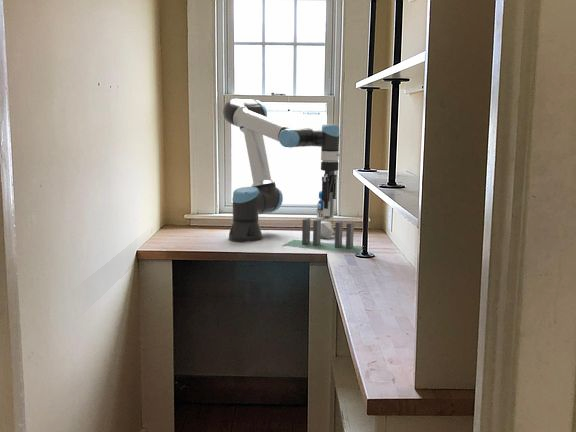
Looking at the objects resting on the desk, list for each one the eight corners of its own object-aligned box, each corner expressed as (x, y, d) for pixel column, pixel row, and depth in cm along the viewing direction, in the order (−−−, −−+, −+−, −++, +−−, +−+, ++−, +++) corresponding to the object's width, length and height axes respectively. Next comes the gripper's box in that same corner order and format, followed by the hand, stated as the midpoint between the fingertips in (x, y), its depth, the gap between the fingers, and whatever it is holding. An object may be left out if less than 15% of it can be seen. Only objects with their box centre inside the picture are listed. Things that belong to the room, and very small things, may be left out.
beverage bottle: (332, 230, 295) (333, 190, 292) (334, 234, 287) (335, 193, 283) (315, 230, 294) (316, 190, 291) (317, 234, 286) (318, 193, 283)
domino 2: (312, 245, 259) (313, 220, 258) (316, 243, 264) (317, 218, 262) (316, 245, 259) (317, 221, 257) (320, 243, 263) (321, 219, 261)
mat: (281, 246, 258) (281, 245, 258) (293, 240, 271) (293, 239, 271) (357, 254, 246) (357, 253, 246) (366, 247, 259) (366, 246, 259)
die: (336, 238, 279) (328, 221, 283) (336, 233, 271) (328, 214, 274) (320, 245, 279) (312, 227, 282) (319, 239, 271) (312, 221, 274)
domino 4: (334, 247, 256) (335, 222, 254) (338, 245, 260) (338, 220, 258) (338, 248, 255) (339, 223, 253) (342, 245, 260) (342, 221, 258)
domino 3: (324, 218, 255) (325, 192, 254) (328, 216, 260) (328, 191, 258) (328, 218, 255) (329, 193, 253) (332, 216, 259) (332, 191, 257)
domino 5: (345, 248, 254) (346, 223, 252) (349, 246, 259) (349, 221, 257) (349, 249, 253) (350, 224, 251) (353, 247, 258) (354, 222, 256)
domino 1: (302, 244, 261) (302, 219, 259) (305, 242, 266) (306, 218, 264) (305, 244, 261) (306, 220, 259) (309, 242, 265) (310, 218, 263)
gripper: (331, 163, 244) (330, 218, 248) (344, 160, 260) (342, 212, 264) (314, 162, 246) (313, 217, 250) (328, 159, 263) (326, 211, 267)
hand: (328, 214), depth 257 cm, fingers closed on domino 3, 5 cm apart
